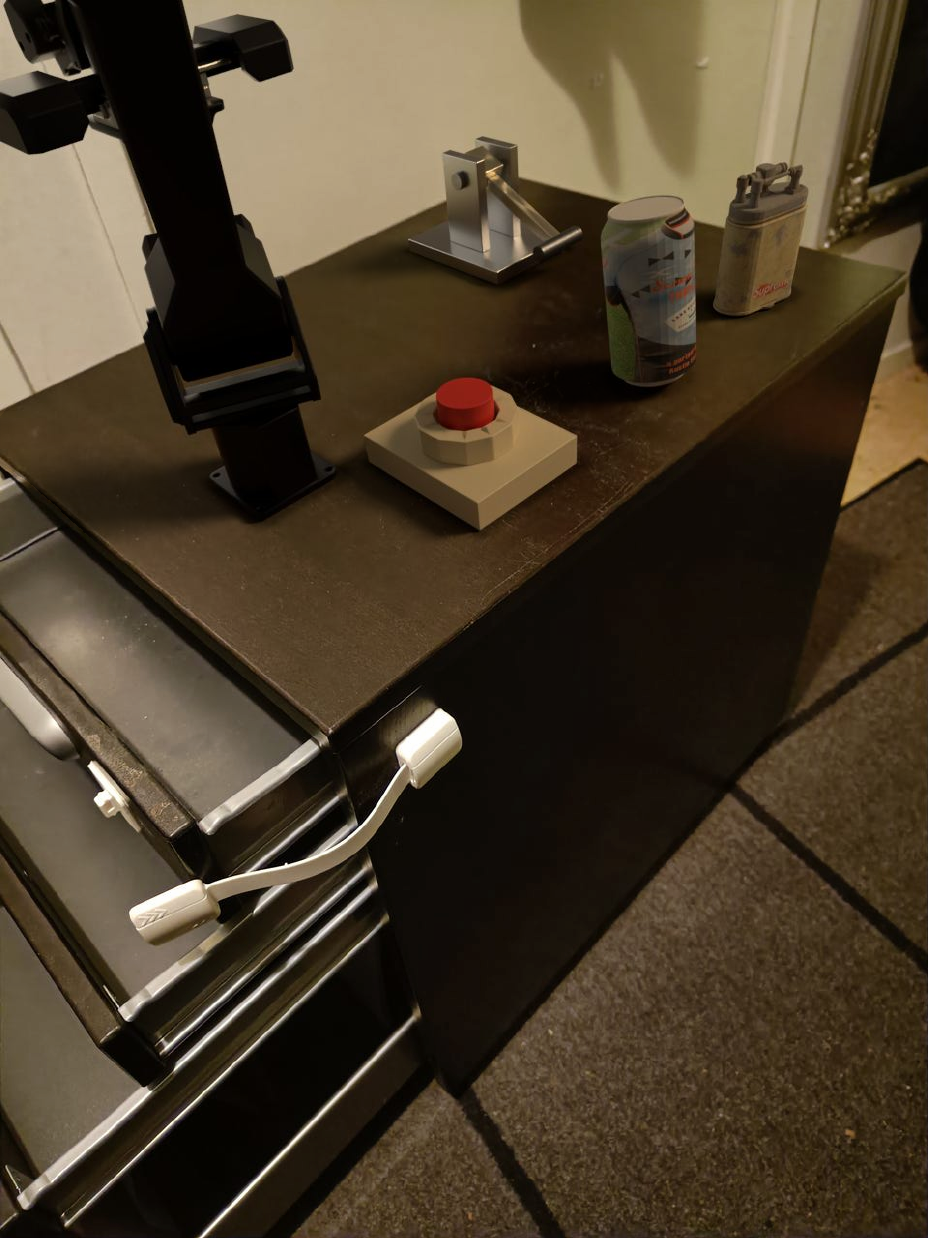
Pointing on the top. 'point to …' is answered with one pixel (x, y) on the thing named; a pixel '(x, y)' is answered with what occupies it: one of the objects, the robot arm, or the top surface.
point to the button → (465, 404)
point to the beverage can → (650, 289)
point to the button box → (473, 457)
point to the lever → (525, 210)
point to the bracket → (479, 219)
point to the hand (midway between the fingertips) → (189, 221)
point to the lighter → (761, 240)
